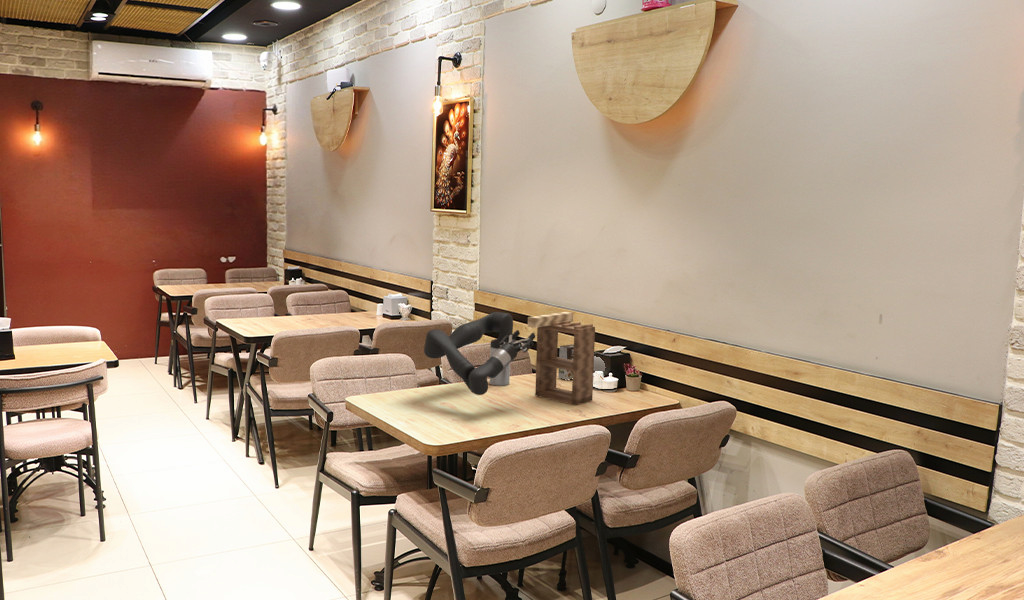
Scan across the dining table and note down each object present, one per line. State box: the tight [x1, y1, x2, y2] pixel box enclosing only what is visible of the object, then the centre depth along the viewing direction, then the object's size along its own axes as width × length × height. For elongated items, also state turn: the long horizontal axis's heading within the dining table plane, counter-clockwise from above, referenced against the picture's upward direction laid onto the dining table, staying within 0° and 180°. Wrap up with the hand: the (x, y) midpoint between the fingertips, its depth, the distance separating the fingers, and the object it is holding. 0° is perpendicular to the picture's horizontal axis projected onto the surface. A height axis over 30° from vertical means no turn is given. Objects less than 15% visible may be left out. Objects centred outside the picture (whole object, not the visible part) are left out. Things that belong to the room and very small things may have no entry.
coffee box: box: [557, 343, 574, 381], centre depth 380 cm, size 9×6×16 cm
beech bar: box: [527, 311, 574, 329], centre depth 341 cm, size 26×4×4 cm, turn 138°
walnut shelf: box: [534, 321, 596, 406], centre depth 342 cm, size 12×22×33 cm, turn 48°
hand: (526, 333), depth 330 cm, fingers open, 8 cm apart
